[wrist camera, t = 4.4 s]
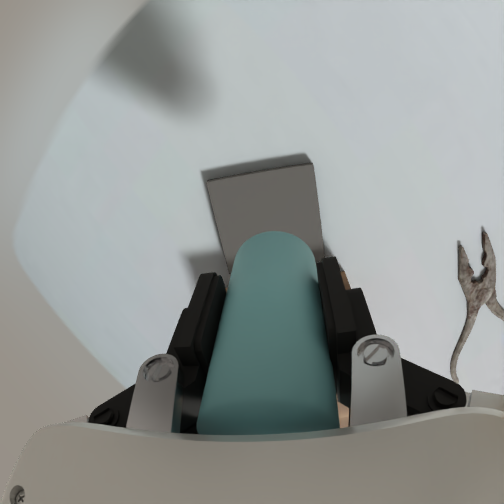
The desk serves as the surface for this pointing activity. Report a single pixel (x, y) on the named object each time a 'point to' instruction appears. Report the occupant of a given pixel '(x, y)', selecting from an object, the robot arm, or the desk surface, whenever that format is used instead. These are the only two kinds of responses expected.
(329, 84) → the desk surface
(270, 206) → the pad
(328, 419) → the peg
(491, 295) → the pliers
